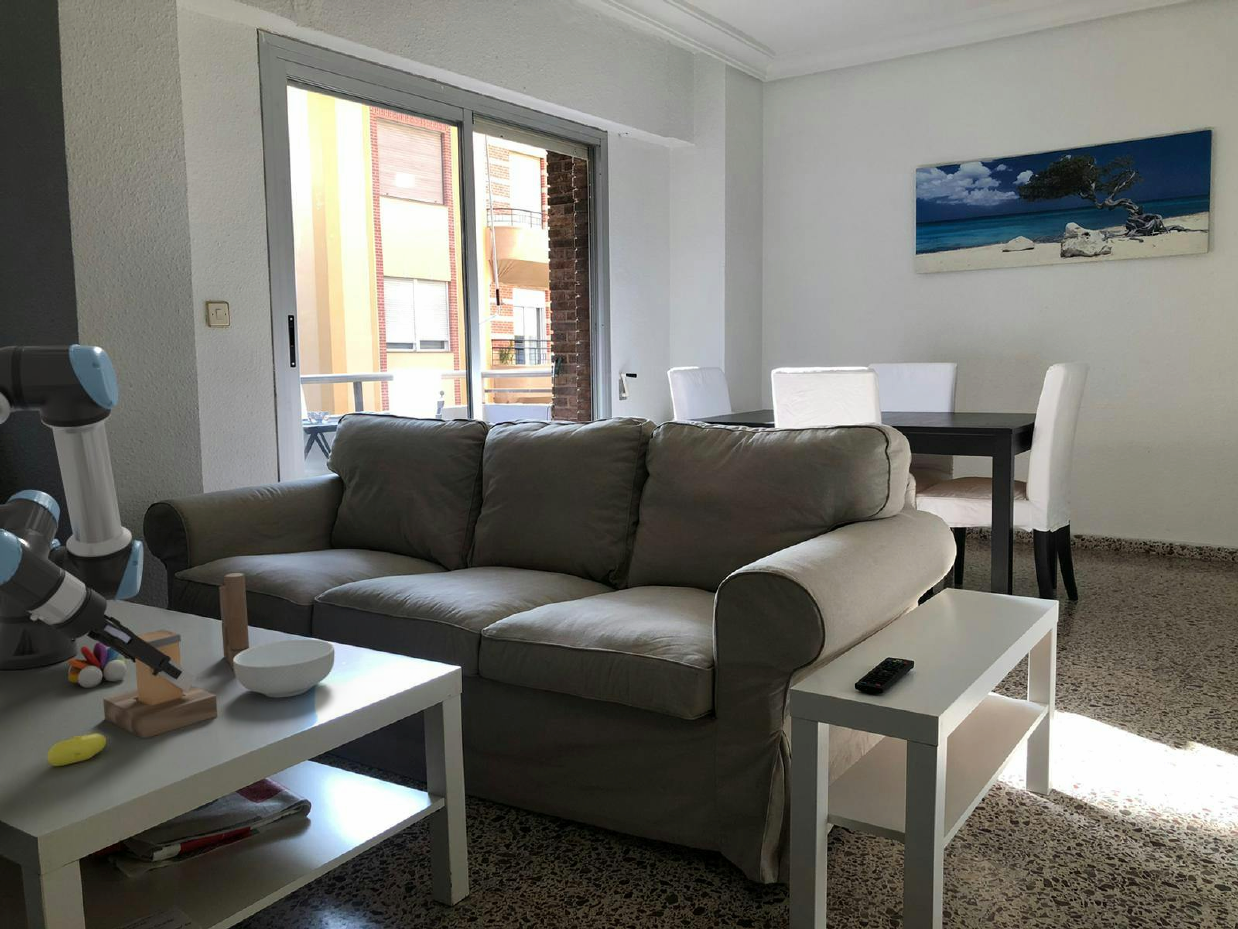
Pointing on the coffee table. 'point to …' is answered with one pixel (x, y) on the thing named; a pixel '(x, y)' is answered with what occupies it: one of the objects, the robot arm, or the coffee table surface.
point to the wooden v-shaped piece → (234, 616)
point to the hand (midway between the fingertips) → (182, 680)
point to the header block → (159, 712)
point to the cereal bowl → (284, 666)
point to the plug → (157, 686)
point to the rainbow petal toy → (96, 666)
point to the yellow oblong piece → (76, 749)
